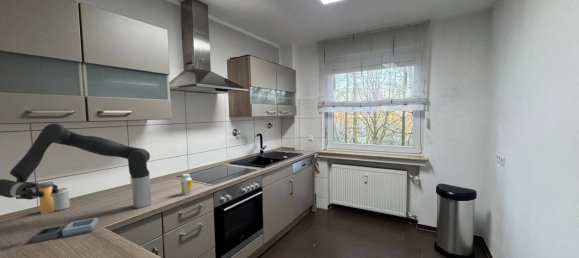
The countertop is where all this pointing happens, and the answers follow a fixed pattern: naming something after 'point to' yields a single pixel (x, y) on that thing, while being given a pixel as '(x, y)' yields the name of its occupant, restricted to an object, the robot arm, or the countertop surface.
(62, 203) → the can
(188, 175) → the supplement bottle
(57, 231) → the pin collar
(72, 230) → the parts tray
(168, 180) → the countertop surface
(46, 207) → the stop pin
